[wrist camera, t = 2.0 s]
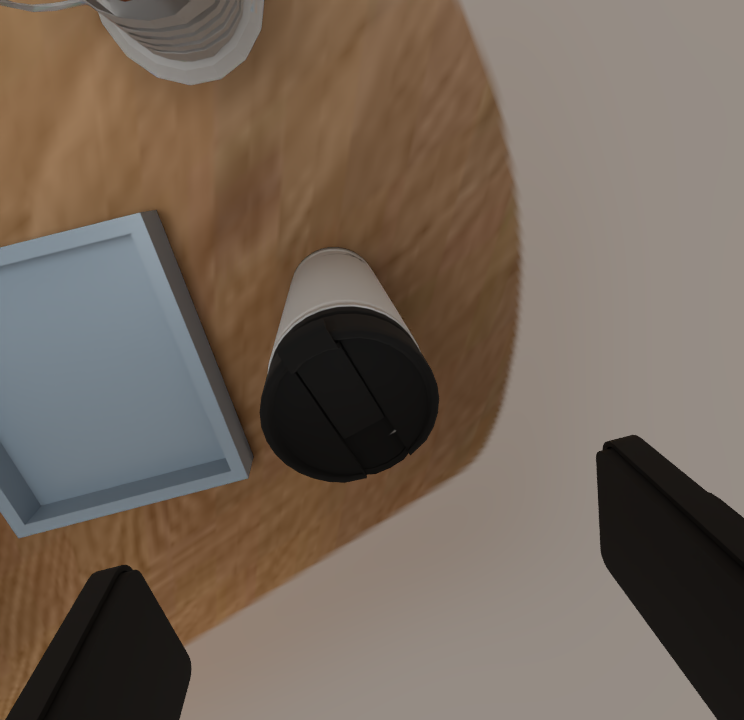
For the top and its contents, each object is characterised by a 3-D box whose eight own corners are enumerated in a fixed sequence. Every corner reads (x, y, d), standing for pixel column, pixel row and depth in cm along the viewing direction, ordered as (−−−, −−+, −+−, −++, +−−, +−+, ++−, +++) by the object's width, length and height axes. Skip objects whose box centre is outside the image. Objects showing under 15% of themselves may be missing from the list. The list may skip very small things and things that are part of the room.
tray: (253, 456, 38) (248, 478, 35) (40, 511, 38) (18, 538, 35) (156, 209, 30) (139, 212, 28) (-111, 276, 30) (-155, 286, 27)
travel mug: (348, 225, 32) (388, 284, 13) (391, 305, 34) (475, 448, 16) (271, 269, 33) (209, 384, 14) (319, 345, 35) (319, 527, 16)
